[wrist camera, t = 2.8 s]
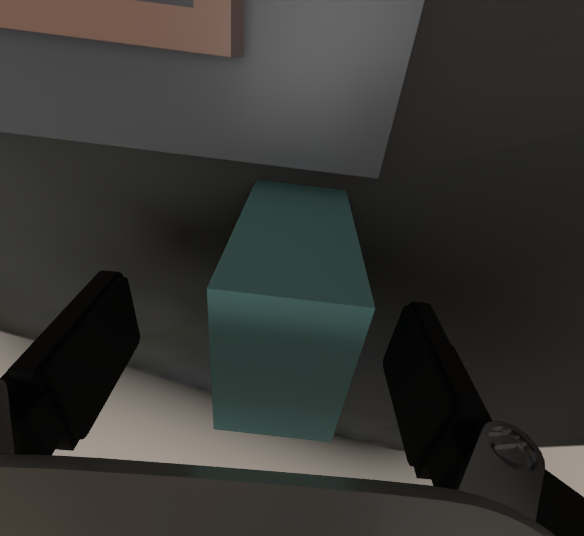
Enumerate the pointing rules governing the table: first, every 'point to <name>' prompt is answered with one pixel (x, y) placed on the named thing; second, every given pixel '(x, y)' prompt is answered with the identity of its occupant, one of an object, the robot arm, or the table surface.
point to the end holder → (211, 76)
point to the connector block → (287, 313)
